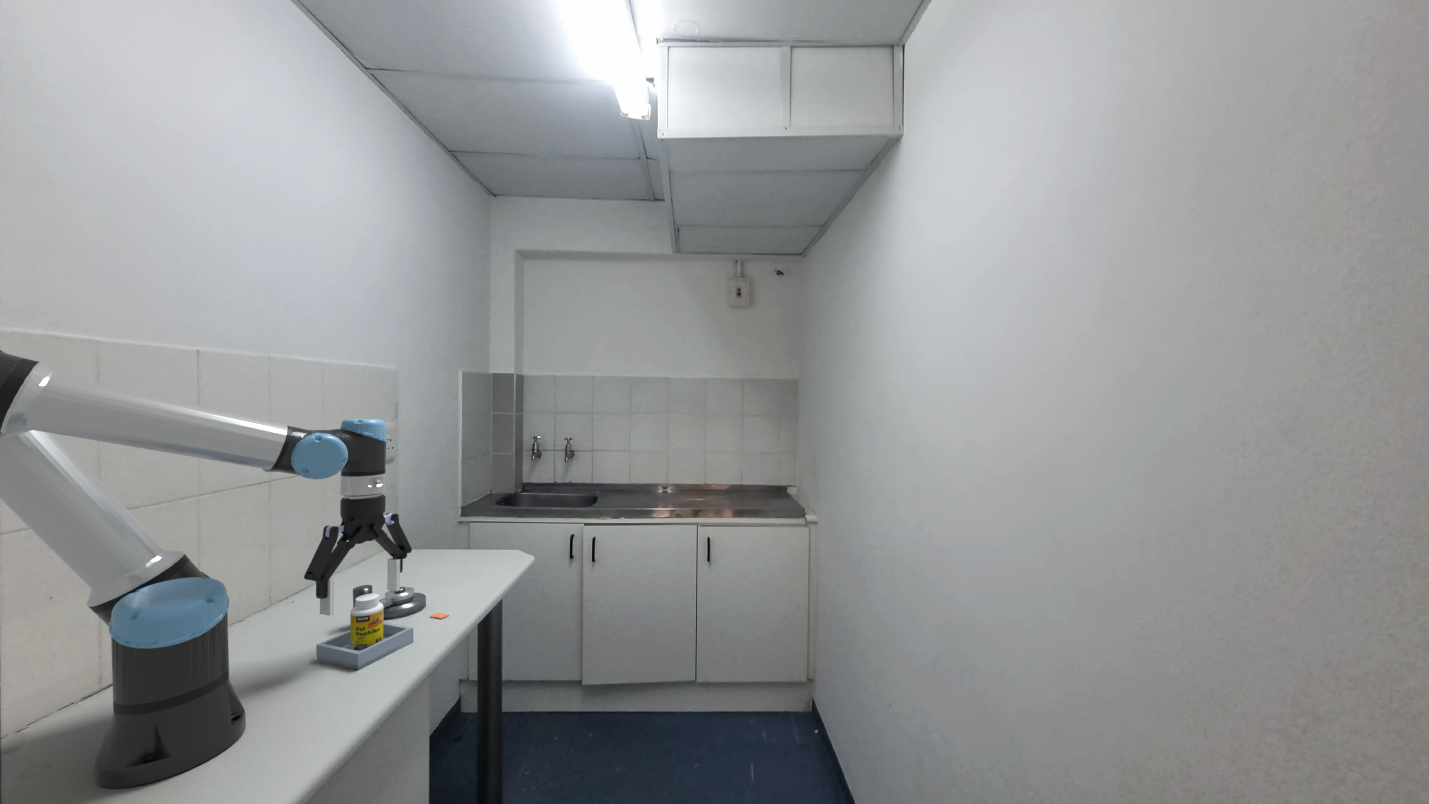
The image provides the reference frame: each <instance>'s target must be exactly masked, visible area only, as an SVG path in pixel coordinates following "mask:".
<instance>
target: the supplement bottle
mask: <svg viewBox="0 0 1429 804" xmlns="http://www.w3.org/2000/svg"><path fill="white" fill-rule="evenodd" d="M379 600H380V595H379V594H378V593H374V592H372V594H365V595H361V596H359V597H357V598H356V600H355V607H354V608H353V607H352V609H351V610H350V615H349V617H350V618H349V619H350V622H349V623H350V624H349V625H350V629H349V630H350V649H351V650H355V651H361V650H364V649H366V648H368V647H370V646H372V645H374V644H376V643H378V642H380V641H382V640H383V622H384V620H383V616H384V606H383V604H382V603H380V602H379Z"/></svg>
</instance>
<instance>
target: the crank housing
mask: <svg viewBox="0 0 1429 804" xmlns="http://www.w3.org/2000/svg"><path fill="white" fill-rule="evenodd" d="M383 599H385V597H383V598H382V599H379V601H381V600H383ZM426 606H427V596H426V594H424V593H421V592H414V599H413V600H411V601H409V602H407V603H403V604H399V605H390V606H387V607H385V608H384V616H383V621H384V620H385V621H386V620H394V619H395V620H396V619H401V618H405V617H408V616H411V615H414V614H417V613H420V612H421V611H422V610H424V609H425V608H426Z"/></svg>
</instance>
